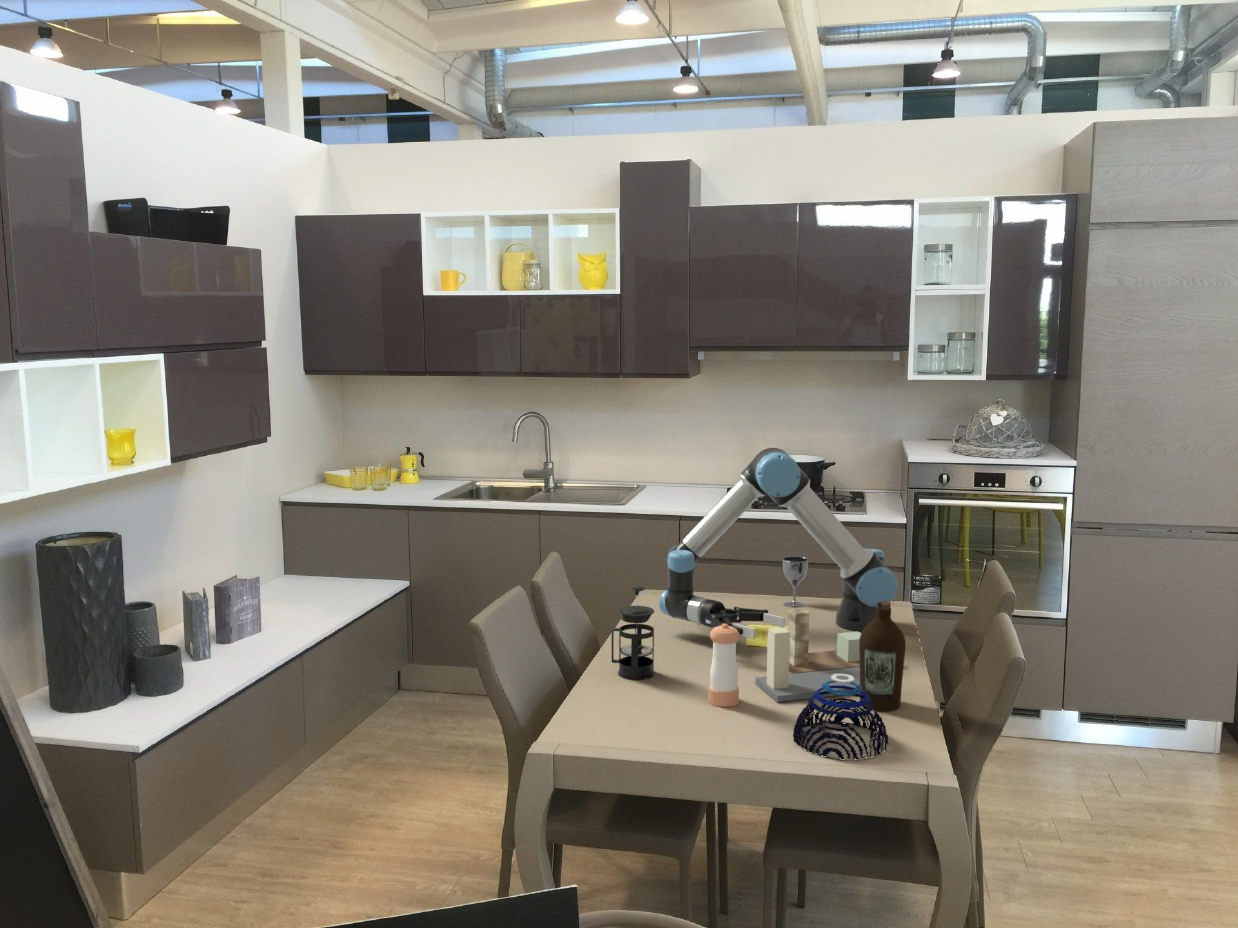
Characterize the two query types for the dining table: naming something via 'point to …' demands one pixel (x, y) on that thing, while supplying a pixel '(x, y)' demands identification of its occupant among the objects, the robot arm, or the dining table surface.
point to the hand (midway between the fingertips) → (769, 628)
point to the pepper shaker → (724, 667)
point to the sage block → (848, 646)
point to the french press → (635, 642)
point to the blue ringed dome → (840, 720)
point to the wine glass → (795, 575)
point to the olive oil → (882, 660)
